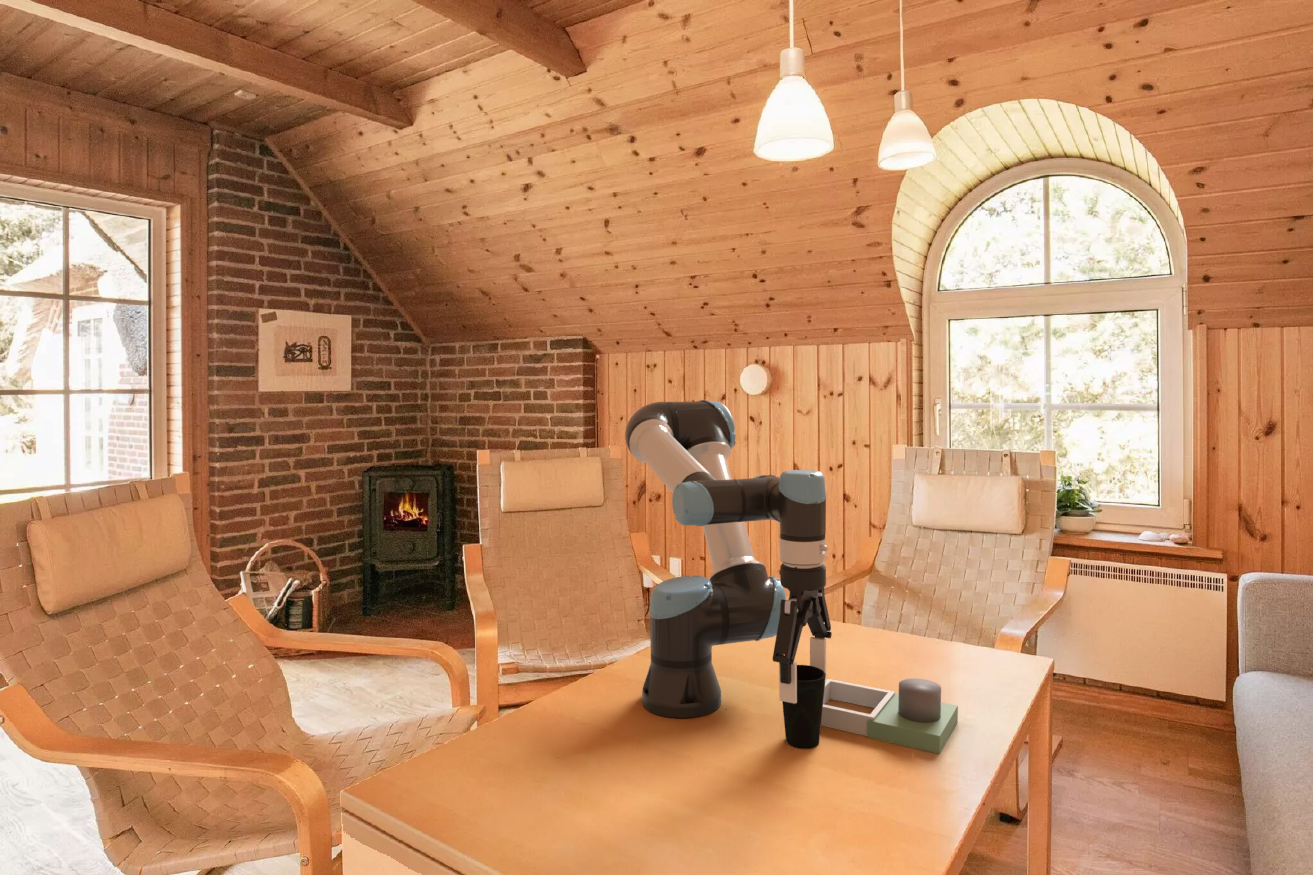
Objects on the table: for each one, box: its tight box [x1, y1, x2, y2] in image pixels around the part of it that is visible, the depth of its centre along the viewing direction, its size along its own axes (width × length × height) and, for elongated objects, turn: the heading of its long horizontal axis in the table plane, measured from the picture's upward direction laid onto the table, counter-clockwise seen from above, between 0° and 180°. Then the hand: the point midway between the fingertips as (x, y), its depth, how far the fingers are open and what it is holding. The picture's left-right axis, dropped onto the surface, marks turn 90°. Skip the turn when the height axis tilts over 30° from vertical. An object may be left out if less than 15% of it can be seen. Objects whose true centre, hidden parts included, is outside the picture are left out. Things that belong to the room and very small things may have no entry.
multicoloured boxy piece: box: [821, 678, 959, 755], centre depth 144 cm, size 24×14×8 cm, turn 58°
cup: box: [781, 664, 827, 750], centre depth 137 cm, size 8×8×12 cm
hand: (803, 687), depth 136 cm, fingers open, 13 cm apart
